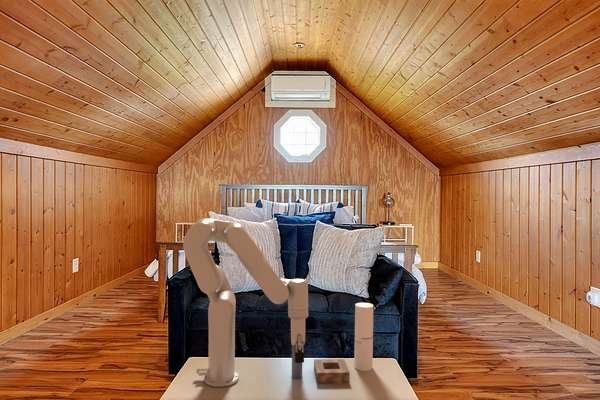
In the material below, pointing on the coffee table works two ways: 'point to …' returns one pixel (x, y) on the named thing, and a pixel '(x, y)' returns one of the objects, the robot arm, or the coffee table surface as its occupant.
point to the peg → (296, 365)
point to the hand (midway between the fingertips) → (298, 357)
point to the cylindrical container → (363, 336)
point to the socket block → (331, 371)
